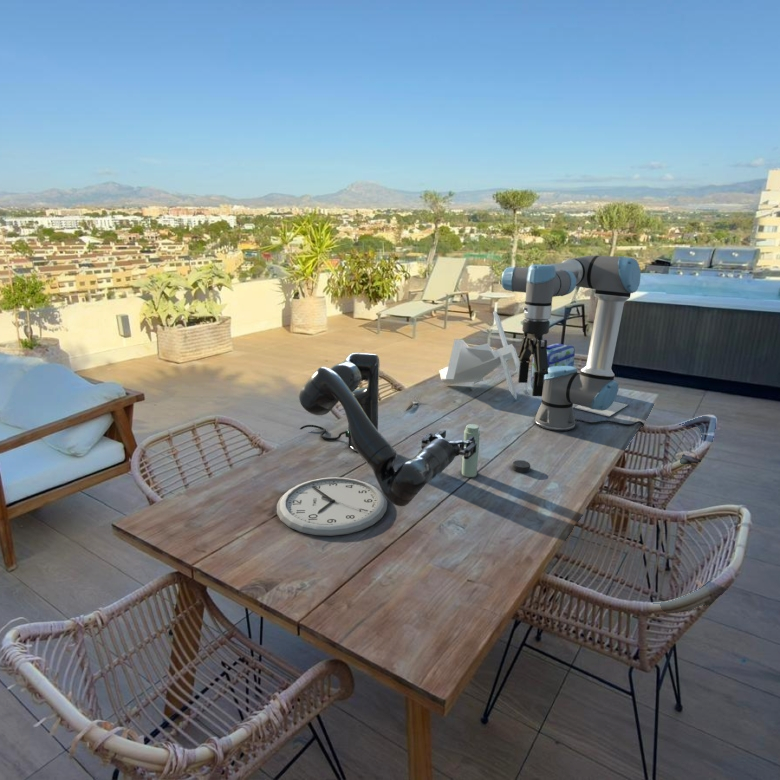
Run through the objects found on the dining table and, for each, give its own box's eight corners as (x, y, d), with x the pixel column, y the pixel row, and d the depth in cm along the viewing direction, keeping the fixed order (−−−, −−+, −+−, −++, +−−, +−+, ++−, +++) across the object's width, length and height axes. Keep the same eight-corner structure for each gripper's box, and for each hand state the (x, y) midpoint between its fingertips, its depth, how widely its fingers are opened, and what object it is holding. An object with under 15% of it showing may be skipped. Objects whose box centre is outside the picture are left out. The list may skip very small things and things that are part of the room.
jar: (479, 474, 162) (483, 427, 157) (469, 478, 159) (472, 430, 155) (469, 469, 166) (472, 422, 161) (458, 473, 163) (461, 425, 158)
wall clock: (392, 527, 129) (268, 531, 127) (391, 533, 130) (269, 537, 127) (383, 473, 158) (282, 475, 155) (383, 478, 158) (282, 480, 156)
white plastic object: (461, 429, 252) (437, 405, 227) (444, 352, 274) (420, 323, 250) (535, 404, 240) (518, 377, 215) (510, 326, 262) (492, 293, 237)
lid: (533, 470, 166) (533, 464, 165) (522, 474, 163) (523, 469, 162) (519, 464, 170) (520, 458, 169) (508, 468, 167) (509, 463, 166)
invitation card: (608, 416, 214) (573, 407, 224) (608, 416, 214) (573, 408, 224) (628, 404, 229) (594, 396, 238) (628, 405, 229) (594, 397, 238)
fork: (403, 411, 216) (403, 406, 215) (414, 400, 230) (414, 395, 230) (409, 412, 215) (409, 407, 215) (420, 400, 229) (420, 396, 229)
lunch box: (547, 395, 239) (552, 351, 233) (526, 390, 247) (530, 347, 240) (574, 384, 257) (579, 343, 251) (554, 380, 264) (558, 339, 258)
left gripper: (409, 464, 139) (435, 443, 152) (459, 477, 132) (481, 453, 146) (410, 438, 137) (436, 419, 150) (461, 450, 130) (483, 429, 143)
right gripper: (511, 312, 164) (506, 377, 170) (538, 327, 140) (530, 402, 146) (535, 312, 164) (528, 377, 171) (565, 327, 141) (556, 401, 147)
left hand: (458, 436), depth 148 cm, fingers open, 8 cm apart
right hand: (529, 388), depth 159 cm, fingers open, 13 cm apart
